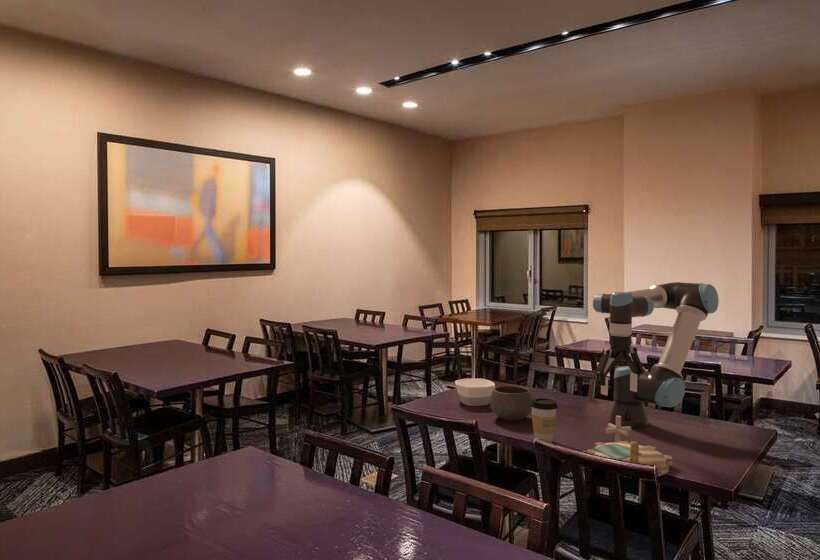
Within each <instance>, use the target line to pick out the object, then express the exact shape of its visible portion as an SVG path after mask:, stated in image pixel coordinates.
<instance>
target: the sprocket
mask: <svg viewBox="0 0 820 560" xmlns="http://www.w3.org/2000/svg"><path fill="white" fill-rule="evenodd" d="M587 453H590V454H594V455H598V456H602V457H606V458H612V459H616V460H622V461H627V462H632V463H640V464H647V465H655V466H656V468H657V472H658V473H660V474H664V473H667V472H668V473H669V471H668V465H669V466H673V457H672V456H671V455H669V454H663V453H662V452H660V451H658V447H656V446H652V445H646V446H645V445H640V443H639V441H635V440H634V441H632V440H631V441H630V442H629V441H627V440H621V441H618V443H615V442H601V441H597V442H594V443H593V447H592V448H591V449H589V448H587ZM668 473H667V474H668Z"/></svg>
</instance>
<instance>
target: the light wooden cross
mask: <svg viewBox="0 0 820 560" xmlns="http://www.w3.org/2000/svg"><path fill="white" fill-rule="evenodd" d="M632 429H633V428H631V427H630V426H626V427H622V426H621V416H616V425H615V424H612V423H611V422H609V423H607V427H606V428H604V432H605V434H615V435H614V437H615V438H614V440H615V442H614V443H618V441H622V440H621V439H622V438H621V435H622V436H625V437H628V436H629V435H630V432H632Z"/></svg>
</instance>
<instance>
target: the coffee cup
mask: <svg viewBox="0 0 820 560" xmlns="http://www.w3.org/2000/svg"><path fill="white" fill-rule="evenodd" d="M530 406H531V407H532V411H531V419H532V427H533V428H532V429H533V437H534V440H535V439H536V438H538V439H543V440H547V441H551V442H553V436H554V432H555V426H556V425H555V424H556V418H557V409H558V408H559V407H558V404H557V401H556V400H555V399H552V398H548V397H535V398H533V400H532V402H531V405H530Z"/></svg>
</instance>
